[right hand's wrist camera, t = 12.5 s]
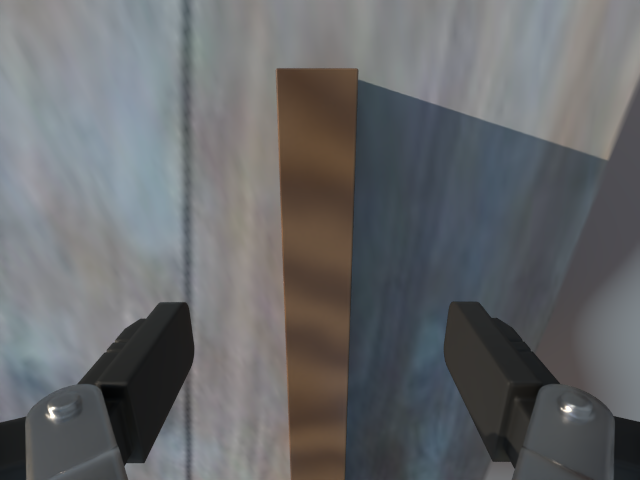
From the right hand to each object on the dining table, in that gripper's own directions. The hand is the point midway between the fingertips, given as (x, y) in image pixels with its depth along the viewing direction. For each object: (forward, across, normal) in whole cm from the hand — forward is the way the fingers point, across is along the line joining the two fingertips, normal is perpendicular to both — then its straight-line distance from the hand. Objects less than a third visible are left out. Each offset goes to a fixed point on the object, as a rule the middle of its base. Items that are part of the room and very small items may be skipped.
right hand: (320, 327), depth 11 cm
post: (+19, 0, -28) cm, 34 cm away
